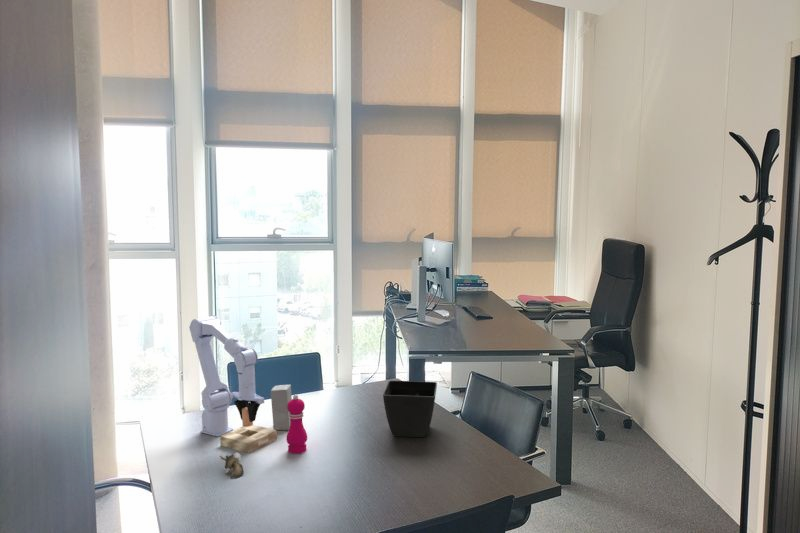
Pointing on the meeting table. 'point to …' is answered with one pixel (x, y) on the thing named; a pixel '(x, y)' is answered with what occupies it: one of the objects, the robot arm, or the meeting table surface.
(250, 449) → the bore block
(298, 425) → the pepper mill
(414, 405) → the flower pot
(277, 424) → the skincare box
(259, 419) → the meeting table surface
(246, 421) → the peg
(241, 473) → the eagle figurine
